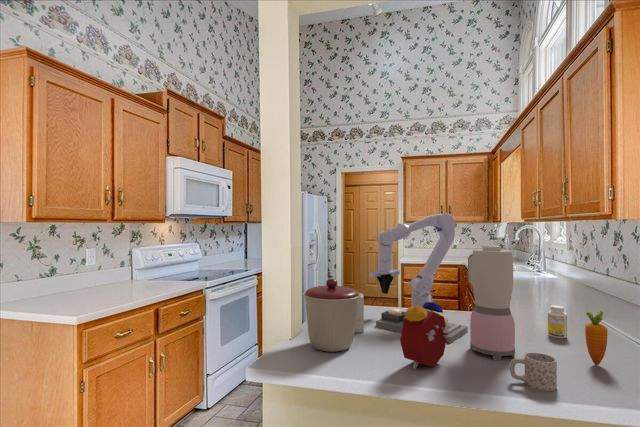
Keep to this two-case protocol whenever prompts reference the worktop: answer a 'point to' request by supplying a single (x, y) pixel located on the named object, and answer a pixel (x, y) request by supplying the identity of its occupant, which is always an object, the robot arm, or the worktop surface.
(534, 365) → the mug
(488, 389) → the worktop surface
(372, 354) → the worktop surface
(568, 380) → the worktop surface
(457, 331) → the control panel
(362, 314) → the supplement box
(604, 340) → the carrot
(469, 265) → the blender
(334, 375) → the worktop surface
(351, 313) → the canister
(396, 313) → the cream button
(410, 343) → the alarm clock
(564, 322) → the supplement bottle
